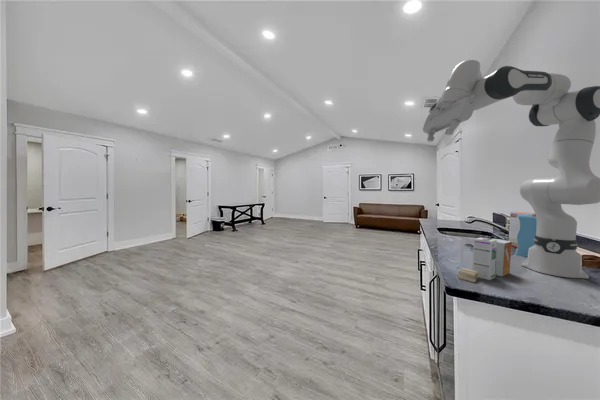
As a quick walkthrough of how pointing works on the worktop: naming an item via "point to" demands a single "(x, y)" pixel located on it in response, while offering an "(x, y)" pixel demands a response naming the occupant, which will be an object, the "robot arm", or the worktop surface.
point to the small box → (503, 257)
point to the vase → (526, 234)
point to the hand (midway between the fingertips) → (438, 137)
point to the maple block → (468, 274)
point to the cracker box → (516, 226)
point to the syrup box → (485, 257)
